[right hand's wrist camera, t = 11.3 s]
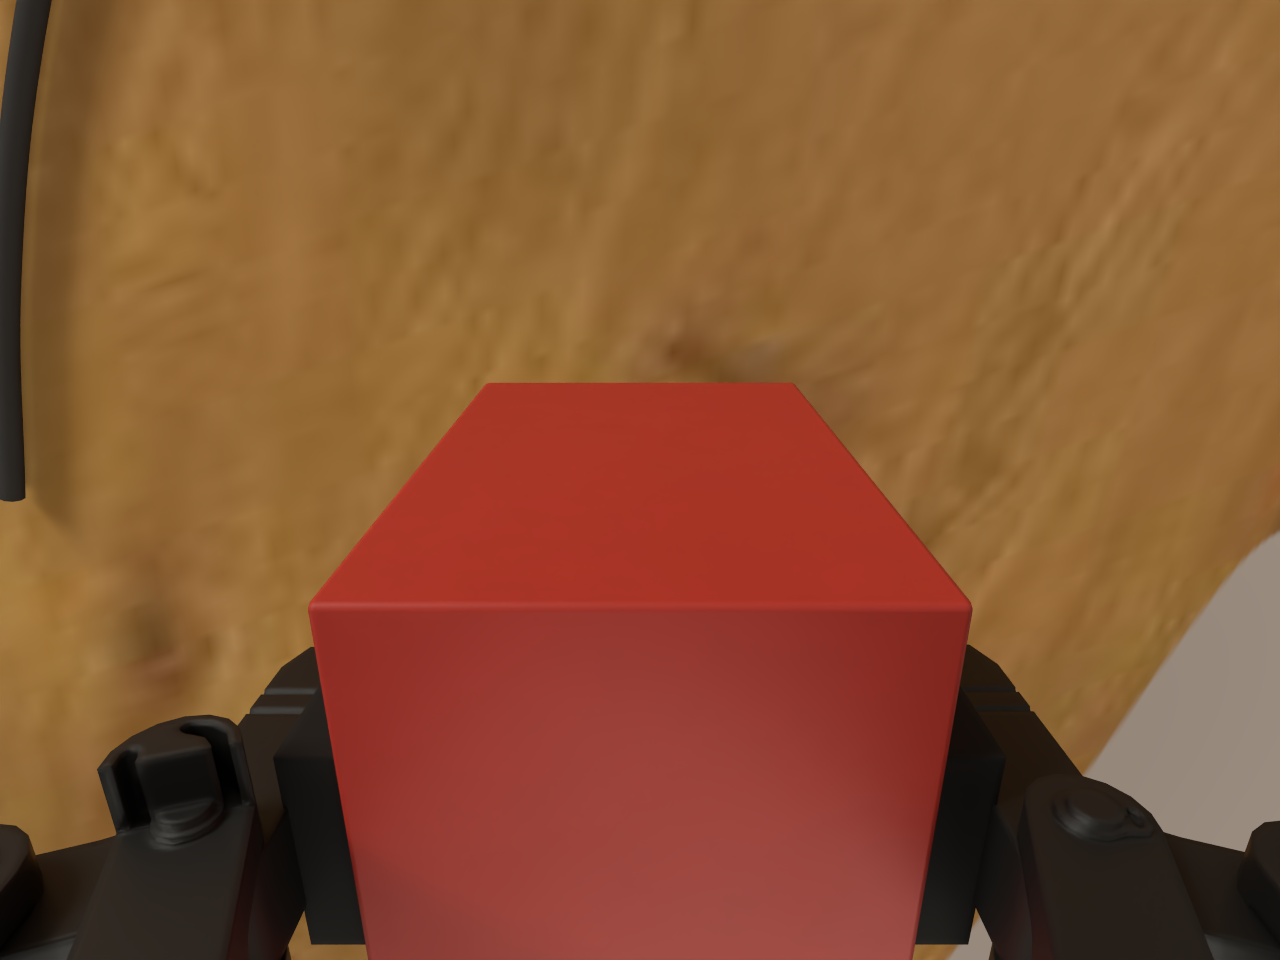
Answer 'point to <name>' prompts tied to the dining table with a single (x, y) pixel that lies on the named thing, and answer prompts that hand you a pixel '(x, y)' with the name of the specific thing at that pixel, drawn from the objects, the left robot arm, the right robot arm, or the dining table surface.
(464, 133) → the dining table surface
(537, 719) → the block
